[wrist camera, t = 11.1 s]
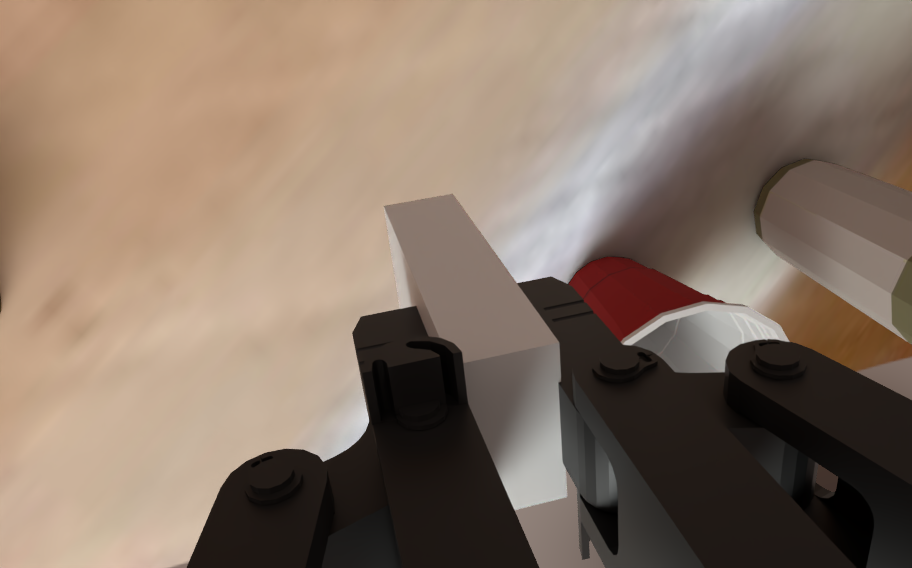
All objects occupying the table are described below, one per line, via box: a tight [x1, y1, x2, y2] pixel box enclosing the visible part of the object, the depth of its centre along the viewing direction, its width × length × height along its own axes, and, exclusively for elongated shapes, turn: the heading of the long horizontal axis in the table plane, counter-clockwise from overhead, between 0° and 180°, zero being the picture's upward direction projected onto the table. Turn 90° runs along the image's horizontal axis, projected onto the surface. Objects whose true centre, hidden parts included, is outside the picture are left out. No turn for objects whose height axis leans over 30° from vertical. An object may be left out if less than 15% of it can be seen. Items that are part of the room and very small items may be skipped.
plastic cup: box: [568, 257, 789, 373], centre depth 42 cm, size 11×11×12 cm
